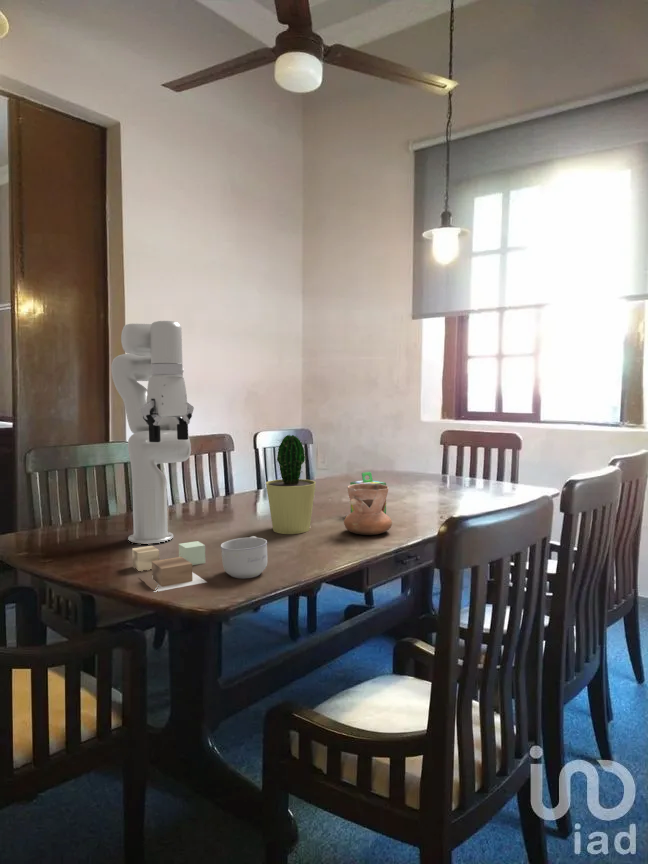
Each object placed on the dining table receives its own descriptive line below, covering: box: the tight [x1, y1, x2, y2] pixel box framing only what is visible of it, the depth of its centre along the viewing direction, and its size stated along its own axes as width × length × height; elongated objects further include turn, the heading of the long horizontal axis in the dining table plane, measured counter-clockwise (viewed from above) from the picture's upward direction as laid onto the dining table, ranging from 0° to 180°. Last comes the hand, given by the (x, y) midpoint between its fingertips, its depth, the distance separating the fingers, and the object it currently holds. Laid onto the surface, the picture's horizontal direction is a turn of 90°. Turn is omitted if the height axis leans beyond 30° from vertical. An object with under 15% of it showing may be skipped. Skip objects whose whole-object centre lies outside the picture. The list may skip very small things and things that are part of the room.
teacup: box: [220, 535, 268, 579], centre depth 145 cm, size 14×11×8 cm
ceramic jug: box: [343, 483, 393, 536], centre depth 186 cm, size 18×14×14 cm
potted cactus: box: [265, 434, 317, 535], centre depth 189 cm, size 15×15×30 cm
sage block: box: [178, 540, 206, 566], centre depth 153 cm, size 5×5×5 cm
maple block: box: [131, 545, 160, 572], centre depth 149 cm, size 5×5×5 cm
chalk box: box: [349, 471, 387, 515], centre depth 210 cm, size 9×9×15 cm
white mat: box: [153, 571, 207, 593], centre depth 139 cm, size 12×12×1 cm
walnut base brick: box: [151, 556, 193, 587], centre depth 139 cm, size 7×7×4 cm
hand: (169, 440), depth 153 cm, fingers open, 9 cm apart
